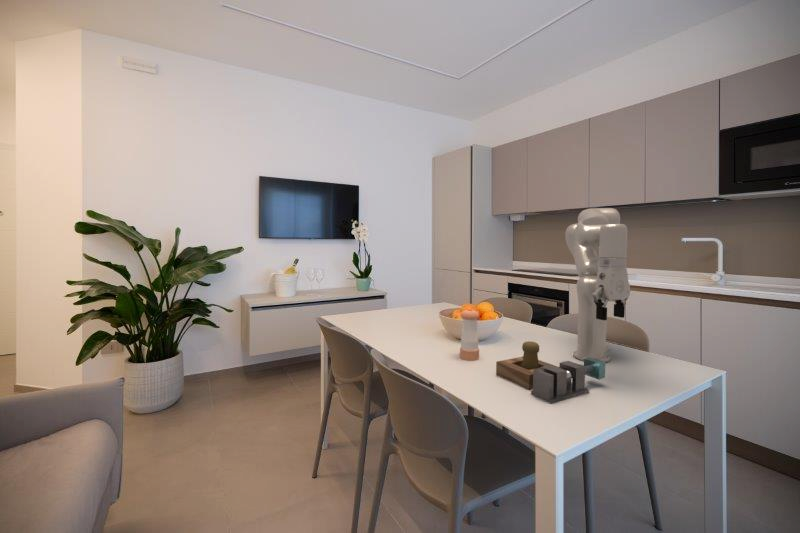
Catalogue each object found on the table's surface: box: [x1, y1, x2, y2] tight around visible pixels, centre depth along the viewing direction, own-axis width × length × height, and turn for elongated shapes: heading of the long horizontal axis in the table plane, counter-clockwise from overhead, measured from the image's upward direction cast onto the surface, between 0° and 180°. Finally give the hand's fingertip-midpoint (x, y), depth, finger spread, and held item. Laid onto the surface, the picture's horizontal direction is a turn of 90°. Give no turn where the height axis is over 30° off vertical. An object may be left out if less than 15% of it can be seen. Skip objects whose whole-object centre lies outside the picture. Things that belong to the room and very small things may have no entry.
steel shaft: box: [567, 357, 607, 380], centre depth 107 cm, size 17×5×5 cm, turn 118°
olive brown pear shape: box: [521, 340, 540, 370], centre depth 115 cm, size 6×6×11 cm
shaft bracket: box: [530, 360, 590, 405], centre depth 104 cm, size 16×7×8 cm, turn 118°
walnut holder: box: [495, 356, 559, 391], centre depth 116 cm, size 14×14×4 cm
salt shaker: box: [459, 307, 480, 361], centre depth 137 cm, size 7×7×19 cm
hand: (610, 318), depth 113 cm, fingers open, 8 cm apart
